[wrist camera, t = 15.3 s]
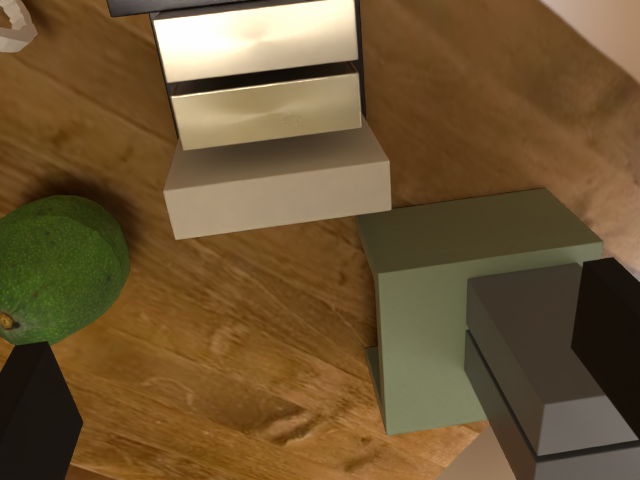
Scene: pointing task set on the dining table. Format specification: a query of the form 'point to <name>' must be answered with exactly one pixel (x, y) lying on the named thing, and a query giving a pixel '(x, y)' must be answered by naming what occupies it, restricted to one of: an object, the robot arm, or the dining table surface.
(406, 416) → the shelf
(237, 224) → the white book
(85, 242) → the avocado
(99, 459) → the dining table surface
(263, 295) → the dining table surface
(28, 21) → the mug
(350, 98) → the book rack
